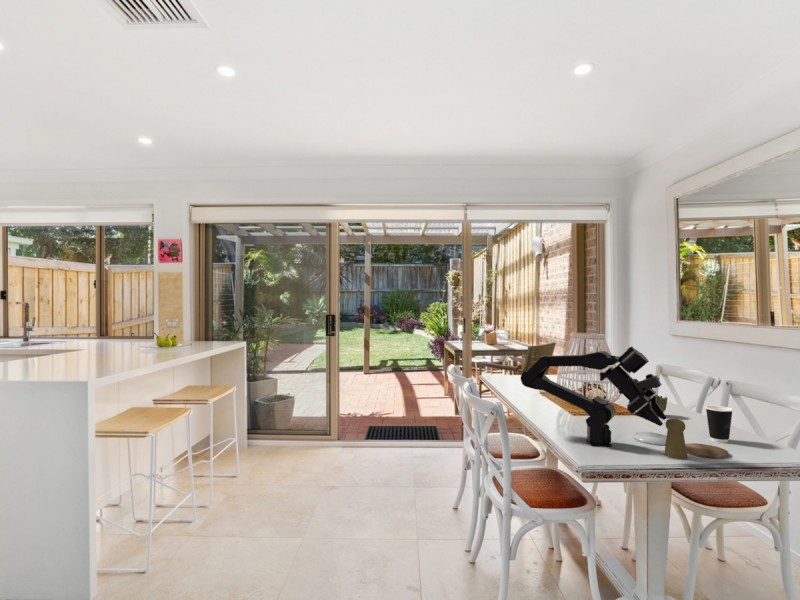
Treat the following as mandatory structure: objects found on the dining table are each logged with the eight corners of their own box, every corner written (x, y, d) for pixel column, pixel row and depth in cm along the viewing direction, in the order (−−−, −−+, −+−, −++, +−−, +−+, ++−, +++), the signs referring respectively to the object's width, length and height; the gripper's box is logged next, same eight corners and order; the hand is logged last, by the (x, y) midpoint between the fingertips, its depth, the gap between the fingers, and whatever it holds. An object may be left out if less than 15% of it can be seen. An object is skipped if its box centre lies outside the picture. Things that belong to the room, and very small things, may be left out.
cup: (643, 414, 193) (642, 395, 193) (656, 413, 195) (656, 394, 195) (657, 418, 185) (657, 398, 186) (671, 417, 188) (671, 397, 188)
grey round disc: (648, 447, 149) (648, 444, 149) (626, 435, 160) (626, 432, 160) (682, 446, 150) (682, 443, 150) (658, 434, 162) (658, 431, 162)
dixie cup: (735, 445, 149) (735, 411, 150) (706, 441, 153) (706, 409, 153) (732, 439, 156) (731, 407, 156) (704, 436, 160) (703, 404, 160)
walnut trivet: (694, 457, 137) (694, 454, 137) (674, 445, 149) (674, 442, 149) (737, 459, 136) (737, 455, 136) (714, 447, 147) (713, 443, 147)
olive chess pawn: (678, 452, 142) (678, 417, 142) (692, 459, 136) (691, 422, 136) (659, 452, 142) (659, 417, 142) (672, 459, 136) (671, 422, 136)
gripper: (638, 369, 136) (682, 411, 129) (648, 363, 151) (687, 400, 145) (610, 393, 141) (651, 434, 134) (622, 384, 156) (659, 421, 149)
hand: (663, 421), depth 140 cm, fingers open, 9 cm apart
